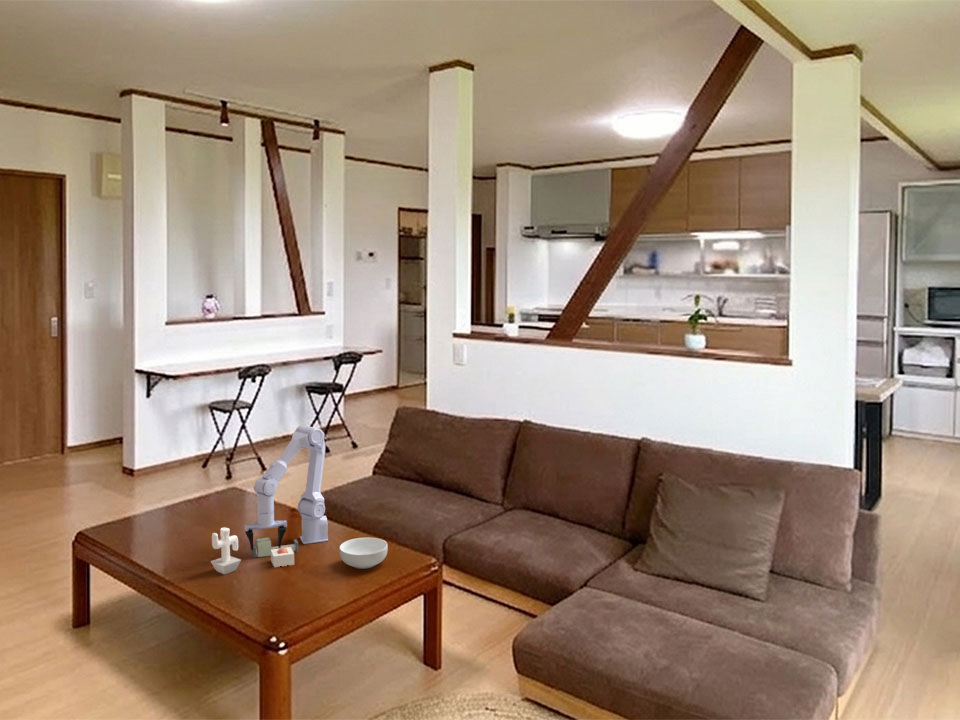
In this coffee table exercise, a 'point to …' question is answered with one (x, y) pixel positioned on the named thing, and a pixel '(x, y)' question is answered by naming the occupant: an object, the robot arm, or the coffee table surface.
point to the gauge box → (282, 557)
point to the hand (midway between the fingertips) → (266, 547)
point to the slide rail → (293, 546)
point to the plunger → (282, 551)
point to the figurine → (225, 551)
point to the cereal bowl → (363, 552)
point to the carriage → (263, 547)
